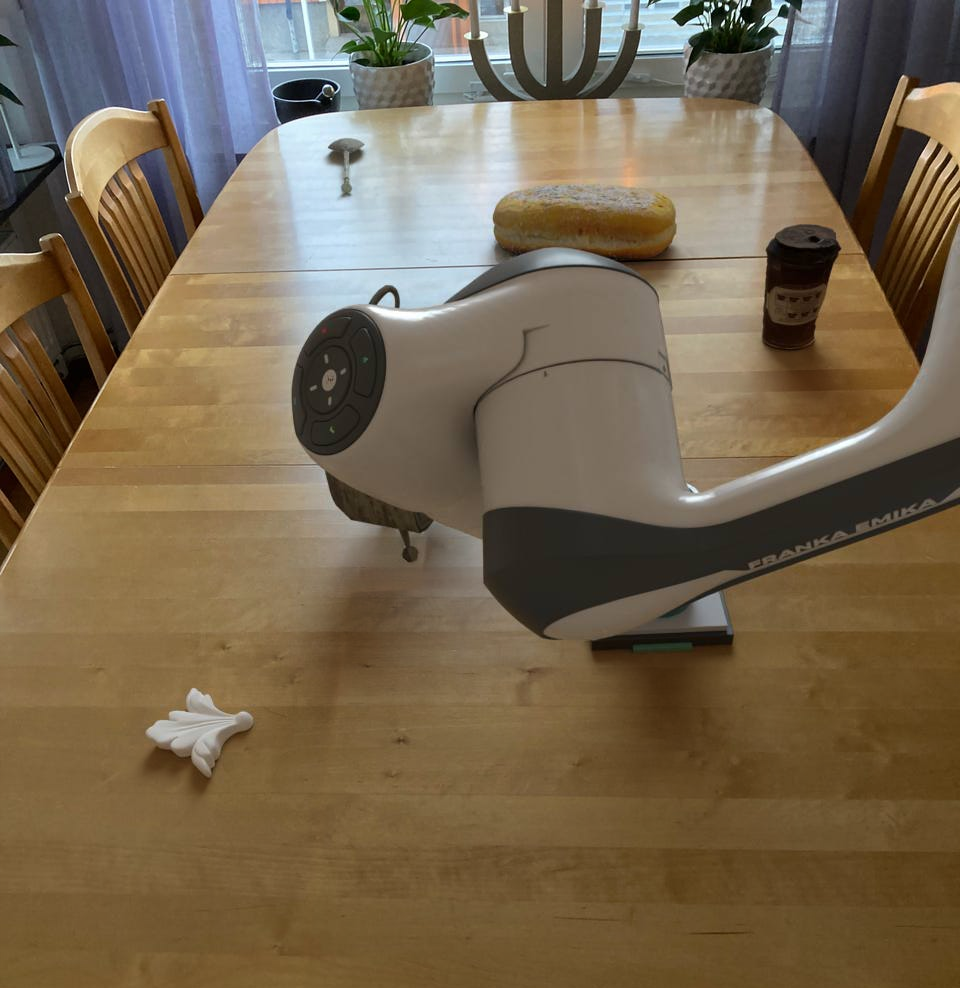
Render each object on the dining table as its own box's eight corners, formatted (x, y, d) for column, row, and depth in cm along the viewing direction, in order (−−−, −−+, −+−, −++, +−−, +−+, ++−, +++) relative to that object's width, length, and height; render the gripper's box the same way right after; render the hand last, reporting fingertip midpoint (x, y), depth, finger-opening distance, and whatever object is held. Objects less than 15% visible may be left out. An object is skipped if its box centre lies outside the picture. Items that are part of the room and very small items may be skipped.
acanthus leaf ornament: (209, 781, 80) (203, 766, 79) (141, 756, 83) (134, 741, 81) (261, 714, 85) (256, 699, 84) (195, 692, 87) (189, 677, 86)
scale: (710, 582, 94) (714, 552, 91) (730, 663, 86) (736, 633, 84) (581, 588, 94) (582, 558, 91) (591, 669, 87) (592, 640, 84)
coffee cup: (830, 355, 121) (852, 249, 112) (760, 358, 121) (776, 253, 112) (814, 320, 127) (833, 217, 118) (747, 323, 127) (762, 221, 118)
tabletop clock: (420, 577, 96) (388, 339, 79) (336, 559, 99) (287, 325, 81) (473, 489, 106) (455, 259, 88) (395, 476, 108) (362, 249, 91)
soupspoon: (366, 149, 181) (330, 154, 181) (363, 129, 179) (326, 134, 179) (366, 191, 165) (326, 196, 165) (362, 169, 163) (322, 175, 163)
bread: (669, 271, 139) (674, 213, 133) (484, 262, 144) (481, 206, 138) (678, 230, 148) (683, 175, 142) (503, 223, 153) (501, 169, 147)
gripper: (356, 454, 66) (465, 502, 78) (608, 582, 56) (689, 614, 67) (396, 365, 65) (500, 427, 77) (660, 478, 55) (733, 529, 67)
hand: (591, 515), depth 72 cm, fingers open, 8 cm apart
